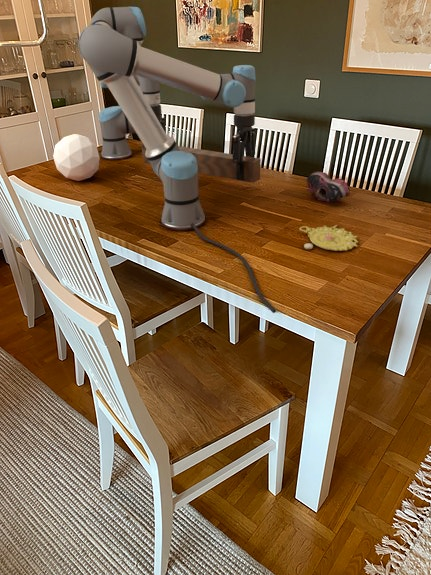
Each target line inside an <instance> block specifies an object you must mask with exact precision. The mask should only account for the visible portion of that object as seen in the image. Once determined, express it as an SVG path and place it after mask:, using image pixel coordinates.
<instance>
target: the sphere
mask: <svg viewBox="0 0 431 575" xmlns="http://www.w3.org/2000/svg"><path fill="white" fill-rule="evenodd" d="M98 151H99V150H98V147H97V145H96V144H95V143H94V142H93V141H92V140H91V138H89V137H88V136H85V135H80V134H77V133H73V134H70V135H67V136H63V137H62V138H61V139H60V140H59V141H58V142H57V143H56V144H55V145H54V150H53V157H52V158H53V161H54V164H55V167H56V170H57V171H58V172H59V173H60V174H62V175H63V176H64V177H65V178H66V179H69V180H73V181H77V182H80V181H84V180H87V179H90V178H92V177H93V175H94V174H96V173H97V171H98V170H99V166H100V159H101V158H100V153H98Z"/></svg>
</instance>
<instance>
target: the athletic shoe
mask: <svg viewBox="0 0 431 575" xmlns="http://www.w3.org/2000/svg"><path fill="white" fill-rule="evenodd" d="M306 185H307V187H308V189H304V191H306V192H310V193H311V194H312V196H313V198H317V200H318V201H319V202H327V203H333V202H336V201H338V200H341V199H345V198H347V197H349V196H350V195H351V192H350V190H351V189H350V186H349V184H348V182H345V180H344V179H342V178H340V177H339V178H338V177H336V178H334V179H333V178H330V176H329V175H328V174H327V173H326V172H323V171H314V172H312V173H311V174H310V175H309V176H308V177H307V178H306Z"/></svg>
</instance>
